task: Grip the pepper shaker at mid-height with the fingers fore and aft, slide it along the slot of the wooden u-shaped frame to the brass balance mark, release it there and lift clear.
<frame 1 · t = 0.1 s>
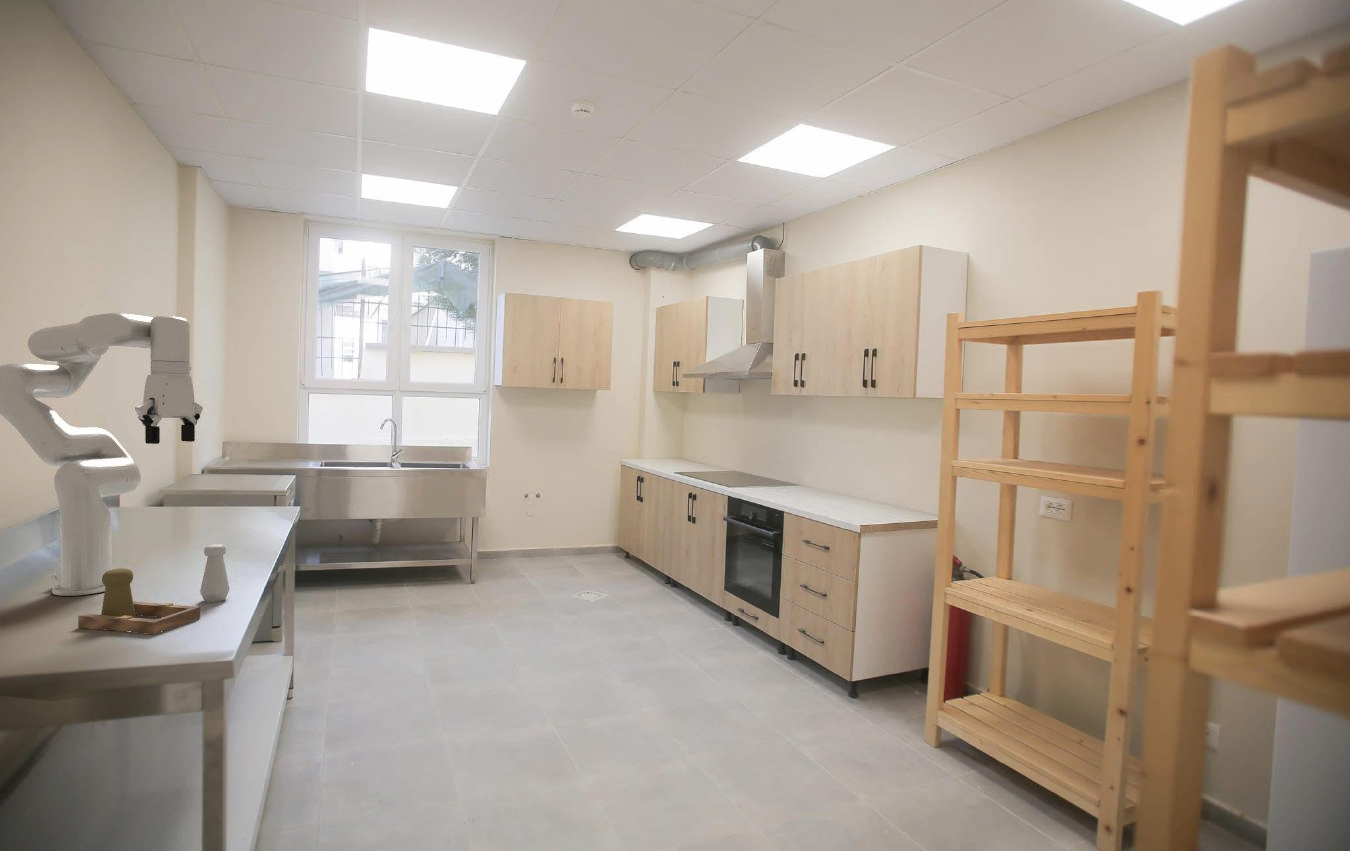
hand: (170, 442, 168), 37 cm above the table, tool pointing down, fingers open, 9 cm apart
pepper shaker: (118, 621, 151), on the table
wooden u-shaped frame: (138, 622, 150), on the table
salt shaker: (214, 600, 167), on the table
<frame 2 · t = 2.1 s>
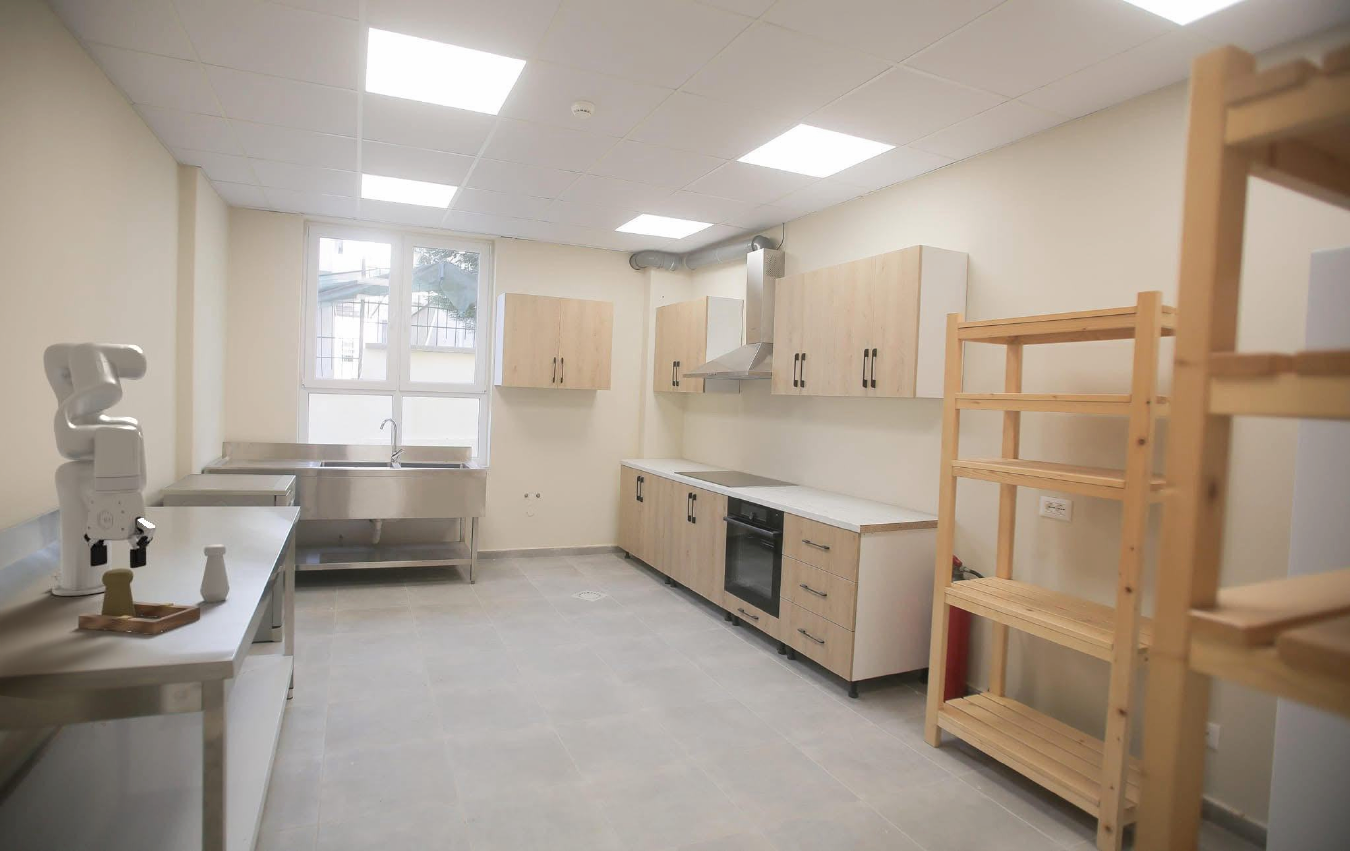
hand: (118, 566, 150), 12 cm above the table, tool pointing down, fingers open, 9 cm apart
nothing on the table moved.
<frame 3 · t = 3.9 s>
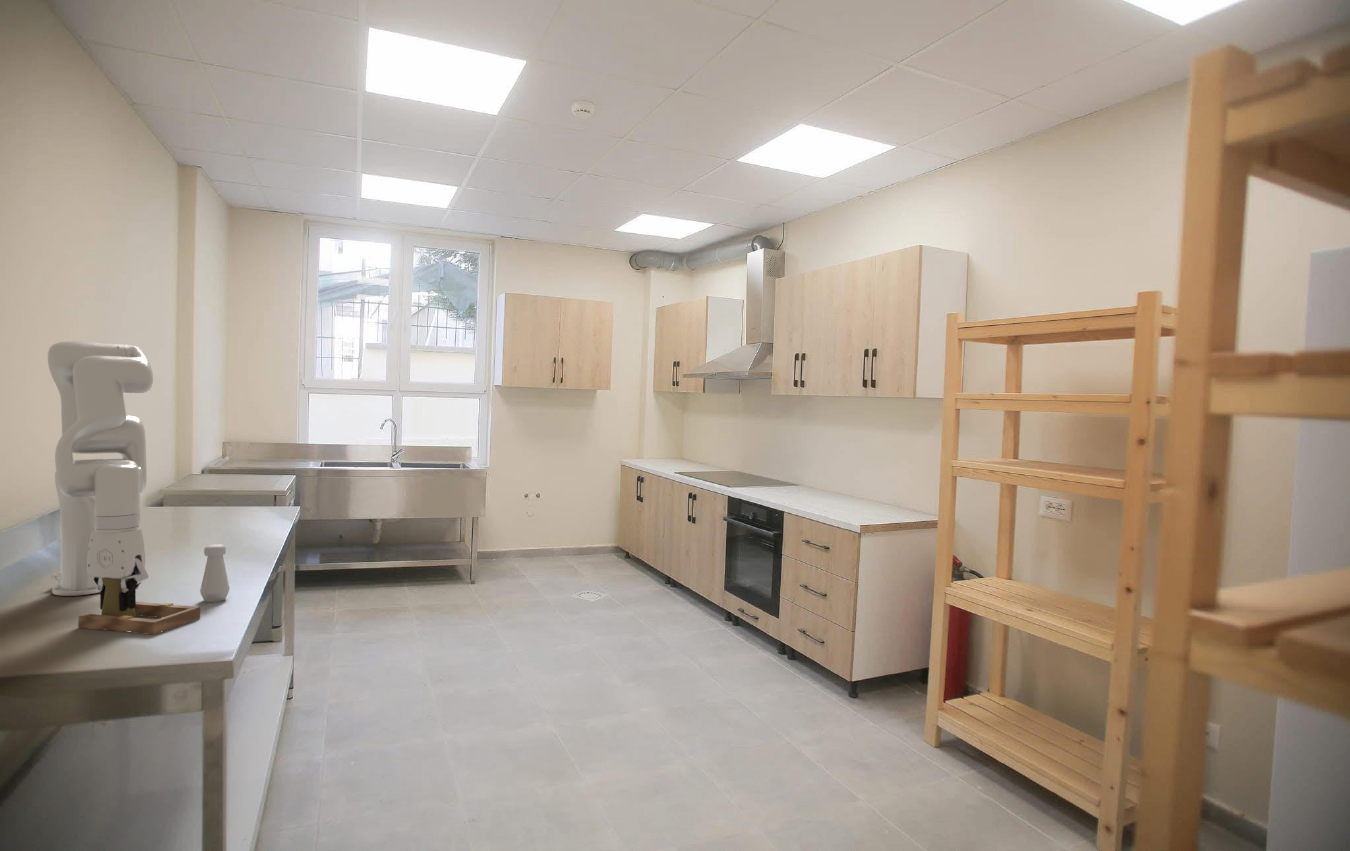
hand: (118, 607, 151), 3 cm above the table, tool pointing down, fingers closed on pepper shaker, 3 cm apart
pepper shaker: (118, 621, 151), on the table, touching gripper
everything else where it was.
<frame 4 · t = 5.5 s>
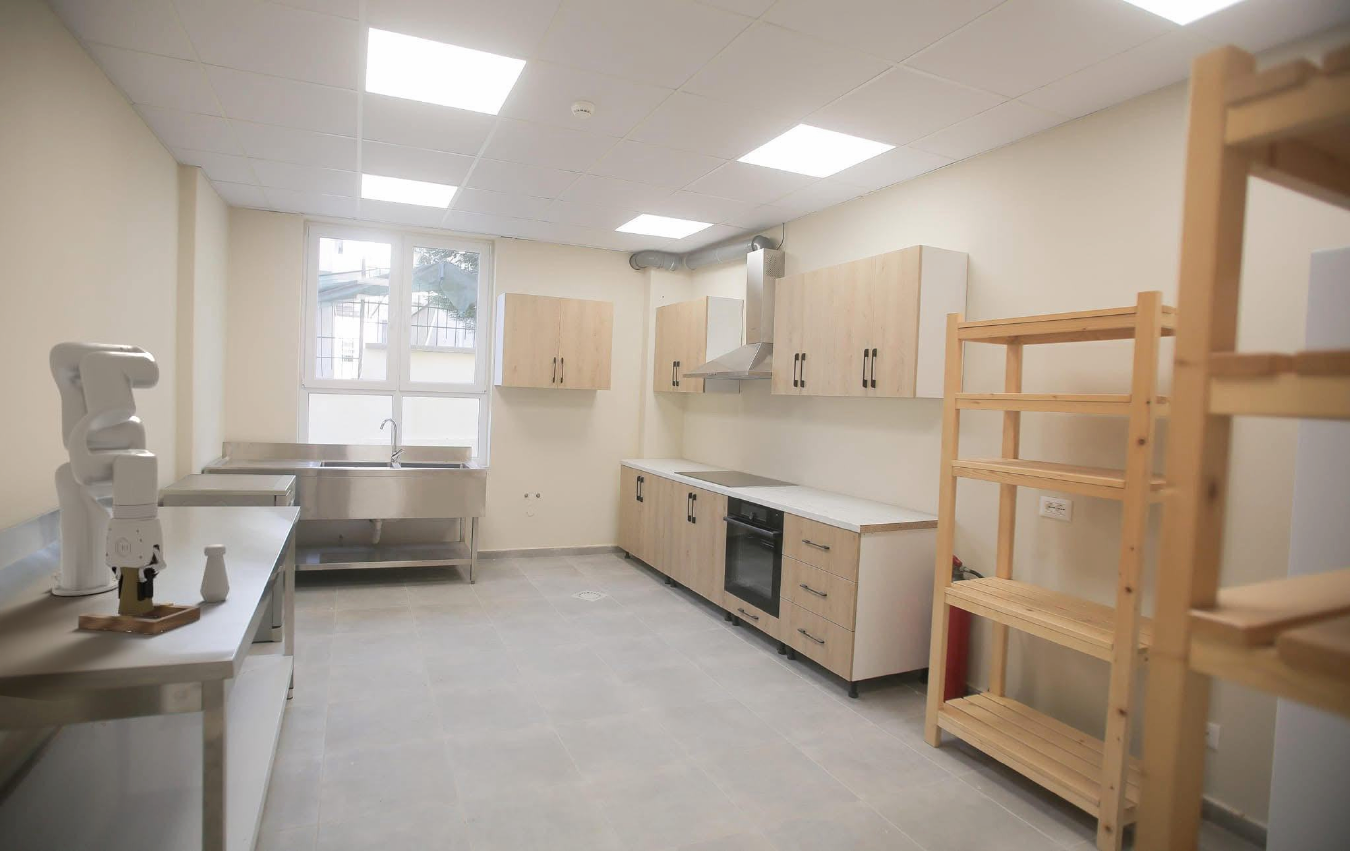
hand: (135, 597, 150), 5 cm above the table, tool pointing down, fingers closed on pepper shaker, 3 cm apart
pepper shaker: (135, 611, 150), point 2 cm above the table, touching gripper
everything else where it was.
when the fingers open (4 cm above the table, at t = 7.0 s): pepper shaker stays where it is, on the table.
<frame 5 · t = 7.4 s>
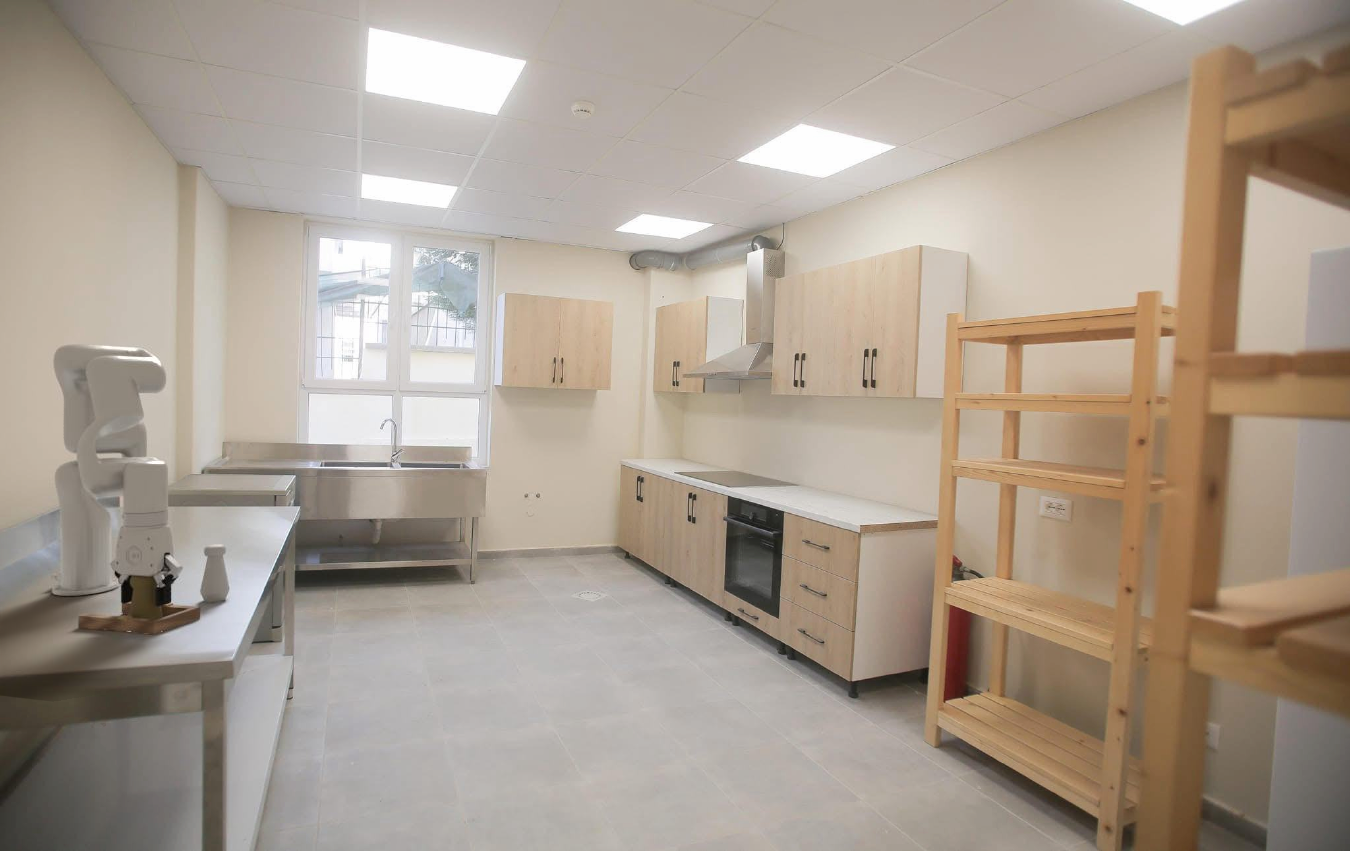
hand: (146, 602, 149), 4 cm above the table, tool pointing down, fingers open, 7 cm apart
pepper shaker: (145, 624, 150), on the table
everything else where it was.
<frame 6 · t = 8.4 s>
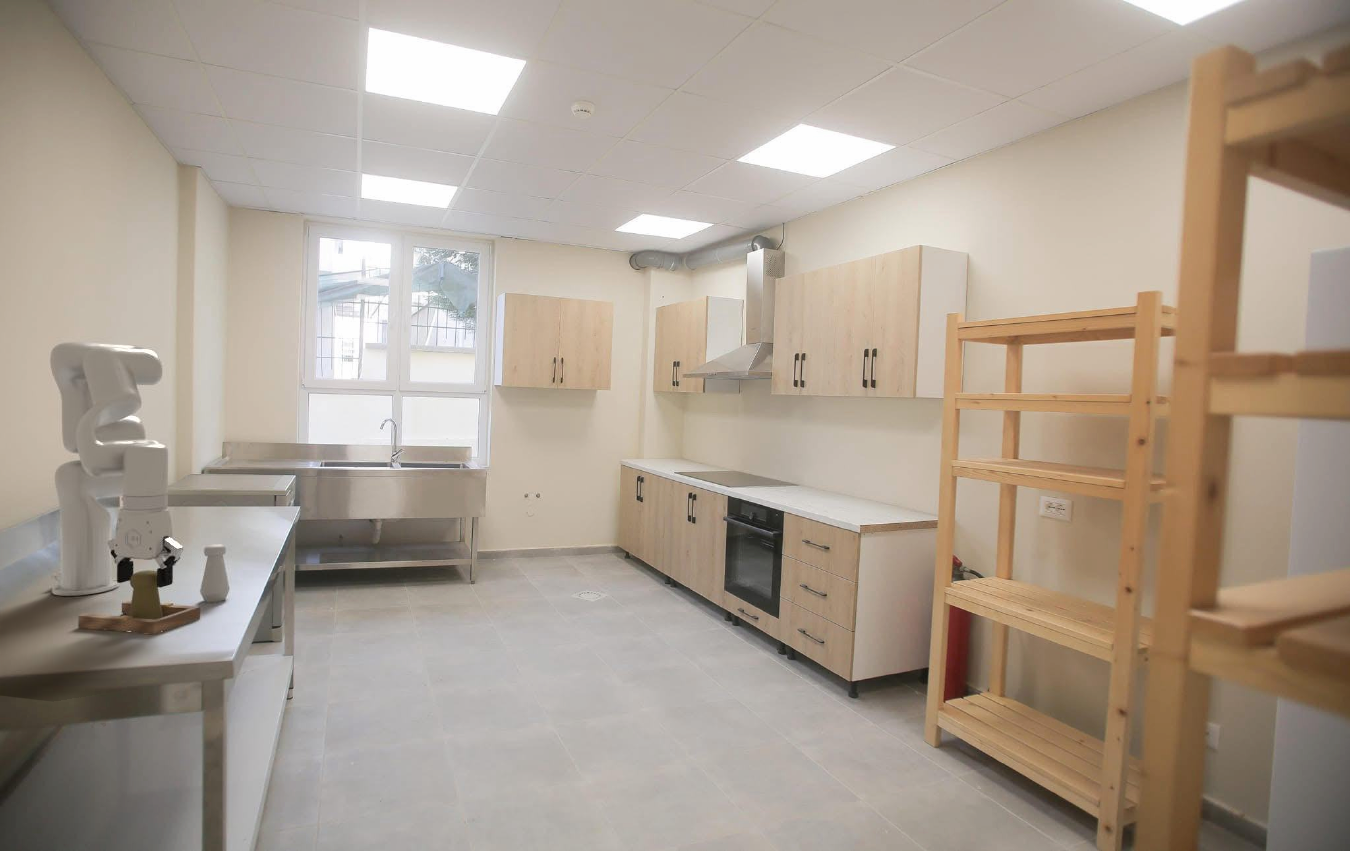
hand: (144, 583, 150), 8 cm above the table, tool pointing down, fingers open, 9 cm apart
nothing on the table moved.
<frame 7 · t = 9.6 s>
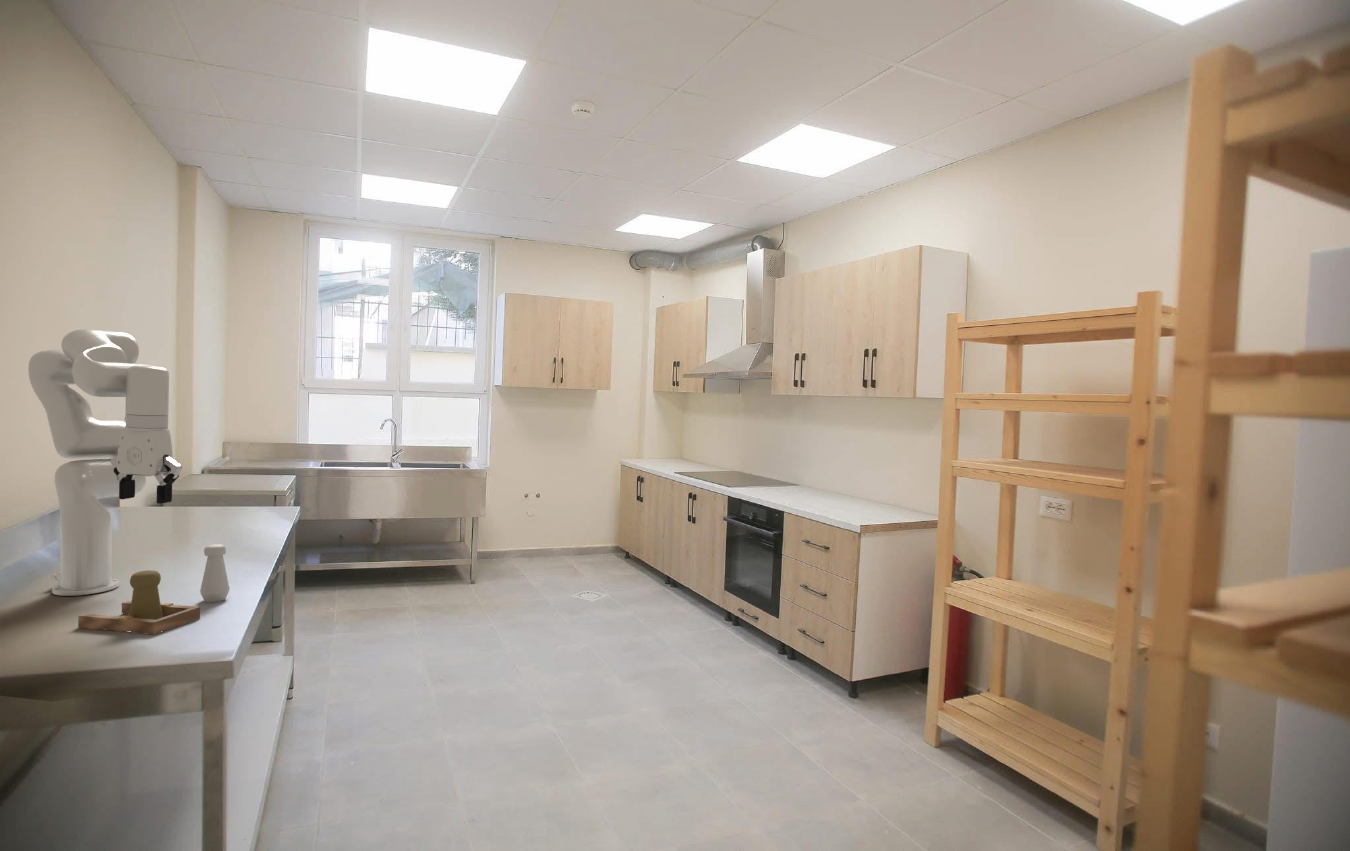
hand: (145, 500, 156), 25 cm above the table, tool pointing down, fingers open, 9 cm apart
nothing on the table moved.
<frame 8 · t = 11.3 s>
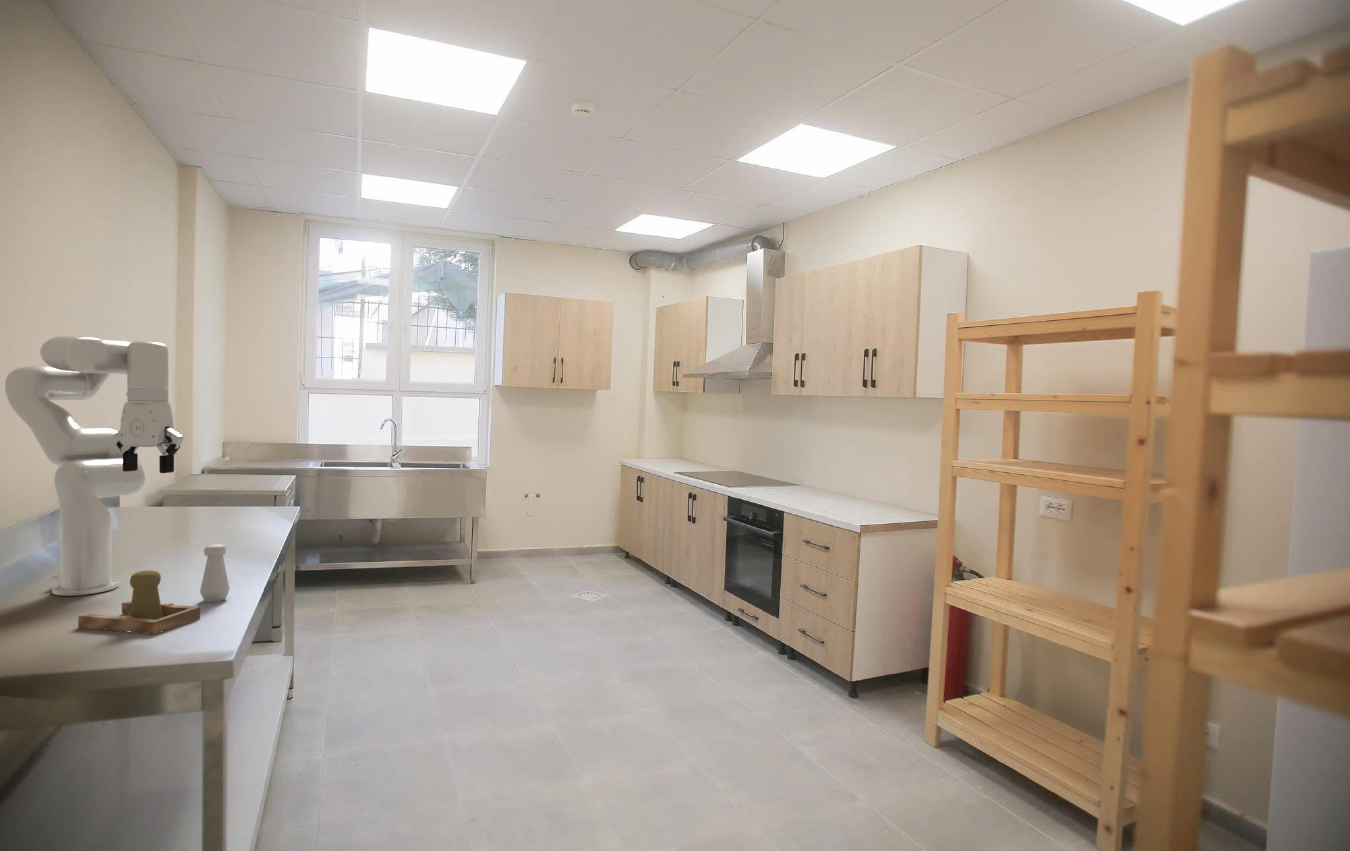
hand: (148, 471, 162), 30 cm above the table, tool pointing down, fingers open, 9 cm apart
nothing on the table moved.
at the end: pepper shaker 0.3 cm from the target spot, on the table; pepper shaker tilted 0°; the gripper is holding nothing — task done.
